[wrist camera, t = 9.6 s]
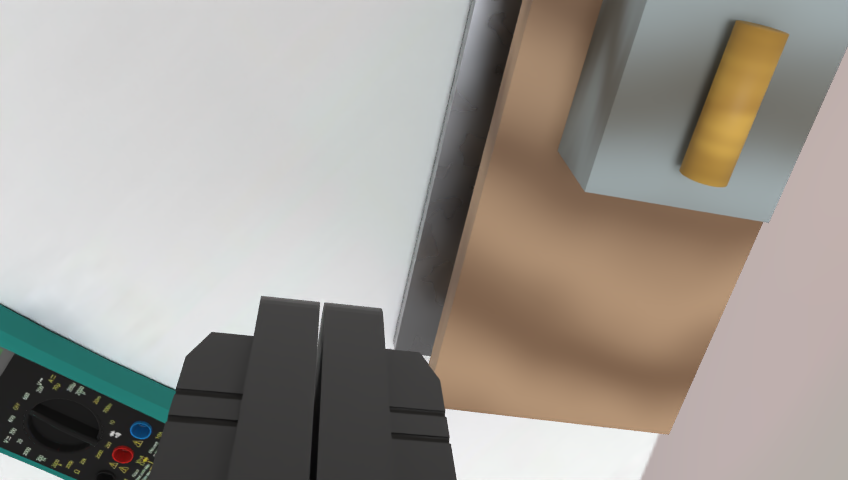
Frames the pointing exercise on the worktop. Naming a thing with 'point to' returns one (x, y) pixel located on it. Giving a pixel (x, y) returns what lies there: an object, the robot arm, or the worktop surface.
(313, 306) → the robot arm
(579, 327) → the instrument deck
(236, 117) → the worktop surface
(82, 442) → the digital multimeter
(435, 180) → the levelling stand
